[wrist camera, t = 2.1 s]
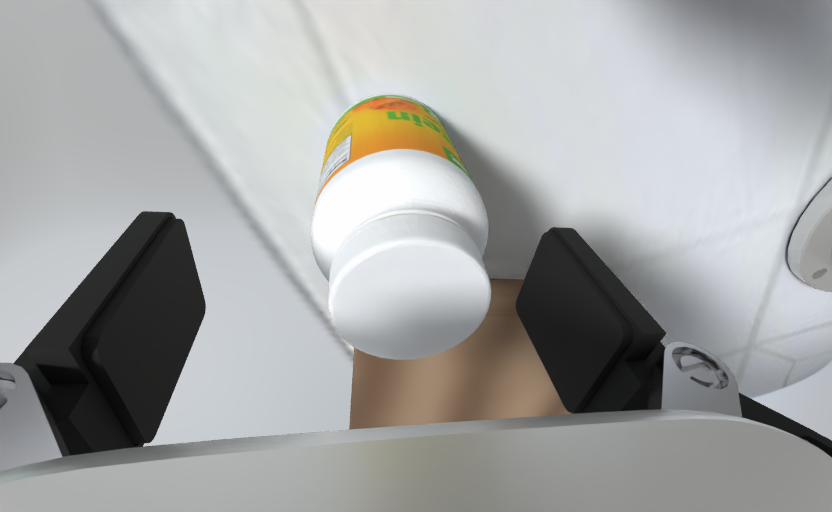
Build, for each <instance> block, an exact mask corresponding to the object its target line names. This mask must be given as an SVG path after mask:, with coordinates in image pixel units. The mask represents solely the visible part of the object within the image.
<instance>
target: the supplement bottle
mask: <svg viewBox="0 0 832 512" xmlns="http://www.w3.org/2000/svg"><path fill="white" fill-rule="evenodd" d="M488 233H489V229H488V217H487V213H486V209H485V206H484V203H483V201H482V198H481V196H480V194H479V192H478V190H477V188H476V186H475V184H474V182H473V181H472V179H471V177H470V175H469V173H468V172H467V170H466V168H465V166H464V164H463V162H462V161H461V159H460V157H459V155H458V153H457V151H456V149H455V147H454V145H453V143H452V141H451V140H450V138H449V136H448V134H447V132H446V130H445V128H444V126H443V125H442V123H441V122H440V120H439V119H438V117H437V116H436V115H435V114H434V113H433V112H432V111H431V110H430V109H429V108H428V107H427V106H425V105H424V104H423V103H421V102H419V101H418V100H416V99H413V98H411V97H408V96H405V95H401V94H393V93H383V94H376V95H372V96H368V97H366V98H363V99H361V100H359V101H357V102H356V103H354V104H353V105H351V106H350V107H349V108H348V109H347V110H346V111H345V112H344V113H343V114H342V115H341V116H340V117H339V119H338V120H337V122H336V123H335V125H334V126H333V128H332V131H331V133H330V136H329V139H328V142H327V147H326V152H325V157H324V162H323V167H322V172H321V176H320V182H319V187H318V192H317V197H316V202H315V206H314V211H313V217H312V226H311V242H312V249H313V254H314V257H315V259H316V262H317V264H318V266H319V268H320V270H321V272H322V273H323V275H324V276H325V278H326V279H327V280H328V281H329V313H330V317H331V320H332V322H333V324H334V326H335V328H336V330H337V331H338V333H339V334H340V335H341V336H342V337H343V338H344V339H345V340H346V341H347V342H348V343H349V344H351V345H352V346H353V347H355V348H357V349H359V350H360V351H363V352H365V353H367V354H370V355H373V356H377V357H380V358H387V359H396V360H408V359H418V358H424V357H428V356H432V355H436V354H438V353H441V352H444V351H446V350H448V349H450V348H452V347H454V346H456V345H458V344H459V343H461V342H462V341H464V340H465V339H466V338H468V337H469V336H470V335H471V334H472V333H473V332H474V331H475V330H476V329H477V328H478V327H479V325H480V324H481V323H482V321H483V320H484V318H485V316H486V314H487V312H488V309H489V306H490V301H491V283H490V279H489V276H488V273H487V271H486V268H485V265H484V263H483V260H482V257H483V255H484V252H485V249H486V245H487V241H488Z"/></svg>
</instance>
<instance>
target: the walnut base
mask: <svg viewBox="0 0 832 512" xmlns="http://www.w3.org/2000/svg"><path fill="white" fill-rule="evenodd" d="M523 282H524V280H504V279H490V283H491V301H490V306H489V309H488V312H487V314H486V316H485V318H484V320H483V321H482V323H481V324H480V325H479V327H478V328H477V329H476V330H475V331H474V332H473V333H472V334H471V335H470V336H469V337H468V338H466V339H465V340H464V341H462V342H461V343H459V344H458V345H456V346H454V347H452V348H450V349H448V350H446V351H444V352H441V353H438V354H436V355H432V356H428V357H424V358H418V359H408V360H396V359H387V358H380V357H377V356H373V355H370V354H367V353H365V352H363V351H360V350H359V349H357V348H355V347H354V362H353V378H352V394H351V395H352V396H351V411H350V429H349V430H351V429H365V428H378V427H392V426H406V425H420V424H433V423H447V422H462V421H476V420H490V419H504V418H519V417H534V416H549V415H564V414H572V413H570V412H568V411H567V410H566V409H565V407H564V405H563V403H562V401H561V399H560V397H559V395H558V393H557V391H556V389H555V387H554V385H553V383H552V381H551V379H550V377H549V375H548V374H547V372H546V370H545V368H544V366H543V364H542V362H541V360H540V358H539V356H538V354H537V352H536V350H535V348H534V346H533V344H532V342H531V340H530V338H529V336H528V334H527V332H526V330H525V328H524V326H523V324H522V322H521V320H520V318H519V316H518V314H517V311H516V300H517V297H518V295H519V292H520V290H521V287H522V285H523Z"/></svg>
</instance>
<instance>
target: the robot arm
mask: <svg viewBox="0 0 832 512" xmlns="http://www.w3.org/2000/svg"><path fill="white" fill-rule="evenodd" d="M788 263H789V266H790V269H791V271H792V272H793V273H794V274H795V275H796V276H797V277H798V278H799V279H801V280H802V281H804V282H805V283H807V284H808V285H810V286H812V287H813V288H815V289H818V290H822V291H826V292H832V179H831V180H830V181H829V182H828V184H827V185H826V186H825V187H824V188H823V189H822V190H821V191H820V192H819V194H818V195H817V196H816V197H815V198H814V199H813V201H812V202H811V204H810V205H809V206H808V208H807V209H806V211H805V212H804V213H803V215H802V216H801V218H800V220H799V222H798V224H797V226H796V227H795V229H794V231H793V233H792V237H791V240H790V243H789V247H788ZM205 307H206V306H205V300H204V295H203V292H202V288H201V284H200V280H199V277H198V273H197V269H196V265H195V261H194V258H193V254H192V250H191V246H190V242H189V239H188V235H187V231H186V227H185V224H184V222H183V220H182V219H176V218H175V216H174V215H173V213H170V212H141V213H140V214H139V215H138V216H137V217H136V219H135V220H134V221H133V222H132V223H131V225H130V226H129V227H128V228H127V229H126V231H125V232H124V233H123V234H122V235H121V236H120V238H119V239H118V240H117V241H116V242H115V244H114V245H113V246H112V247H111V248H110V249H109V251H108V252H107V253H106V254H105V255H104V257H103V258H102V259H101V260H100V261H99V262H98V264H97V265H96V266H95V267H94V268H93V270H92V271H91V272H90V273H89V274H88V275H87V277H86V278H85V279H84V280H83V281H82V283H81V284H80V285H79V286H78V288H77V289H76V290H75V291H74V292H73V293H72V294H71V296H70V297H69V298H68V299H67V301H66V302H65V303H64V304H63V305H62V306H61V308H60V309H59V310H58V311H57V312H56V314H55V315H54V316H53V317H52V318H51V319H50V320H49V322H48V323H47V324H46V325H45V326H44V328H43V329H42V330H41V331H40V332H39V333H38V335H37V336H36V337H35V338H34V339H33V341H32V342H31V343H30V344H29V345H28V346H27V348H26V349H25V351H24V352H23V353H22V354H21V355H20V356H19V358H18V359H17V360H16V361H15V362H14V364H12V363H0V512H832V441H831V440H830V439H828V438H826V437H823V436H821V435H820V434H818V433H817V432H815V431H813V430H811V429H809V428H807V427H805V426H803V425H801V424H799V423H797V422H795V421H793V420H791V419H789V418H787V417H785V416H784V415H782V414H780V413H778V412H776V411H774V410H772V409H770V408H768V407H766V406H764V405H762V404H760V403H758V402H756V401H754V400H752V399H750V398H748V397H746V396H744V395H742V394H740V393H738V387H737V382H736V380H735V377H734V375H733V374H732V372H731V371H730V370H729V368H728V367H727V366H726V365H725V364H724V363H723V362H722V361H721V360H719V359H718V358H717V357H715V356H714V355H712V354H711V353H710V352H708V351H706V350H704V349H702V348H700V347H698V346H695V345H693V344H690V343H685V342H671V343H670V344H668V345H667V346H666V347H664V346H663V345H662V343H661V342H660V341H661V340H662V338H663V337H664V336H665V334H666V332H665V331H664V330H663V329H662V328H661V327H660V325H659V324H658V323H657V322H656V321H655V320H654V319H653V318H652V316H651V315H650V314H649V313H648V312H647V311H646V310H645V309H644V307H643V306H642V305H641V304H640V303H639V302H638V301H637V300H636V298H635V297H634V296H633V295H632V294H631V293H630V292H629V291H628V289H627V288H626V287H625V286H624V285H623V284H622V283H621V282H620V280H619V279H618V278H617V277H616V276H615V275H614V274H613V272H612V271H611V270H610V269H609V268H608V267H607V266H606V265H605V263H604V262H603V261H602V260H601V259H600V258H599V257H598V256H597V254H596V253H595V252H594V251H593V250H592V249H591V248H590V247H589V245H588V244H587V243H586V242H585V241H584V240H583V239H582V238H581V236H580V235H579V234H578V233H577V232H576V231H575V230H574V229H573V228H556V227H553V228H551V229H550V230H549V231H548V232H546V233H544V234H543V236H542V237H541V240H540V242H539V245H538V247H537V250H536V252H535V255H534V257H533V260H532V262H531V265H530V267H529V270H528V272H527V275H526V277H525V280H524V282H523V285H522V287H521V290H520V292H519V295H518V297H517V300H516V311H517V314H518V316H519V318H520V320H521V322H522V324H523V326H524V328H525V330H526V332H527V334H528V336H529V338H530V340H531V342H532V344H533V346H534V348H535V350H536V352H537V354H538V356H539V358H540V360H541V362H542V364H543V366H544V368H545V370H546V372H547V374H548V375H549V377H550V379H551V381H552V383H553V385H554V387H555V389H556V391H557V393H558V395H559V397H560V399H561V401H562V403H563V405H564V407H565V409H566V410H567V411H568V412H570V413H572V414H564V415H549V416H534V417H519V418H504V419H490V420H476V421H462V422H447V423H433V424H420V425H406V426H392V427H378V428H365V429H351V430H339V431H325V432H313V433H300V434H287V435H274V436H260V437H248V438H235V439H222V440H211V441H201V442H190V443H179V444H169V445H158V446H146V447H143V445H144V443H150V442H151V441H152V440H153V439H154V437H155V435H156V433H157V430H158V428H159V425H160V423H161V421H162V418H163V416H164V413H165V411H166V408H167V406H168V403H169V401H170V399H171V396H172V393H173V391H174V389H175V386H176V384H177V381H178V379H179V377H180V374H181V371H182V369H183V367H184V364H185V362H186V359H187V357H188V354H189V352H190V350H191V347H192V345H193V342H194V340H195V337H196V335H197V332H198V330H199V327H200V325H201V322H202V320H203V317H204V315H205Z"/></svg>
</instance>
